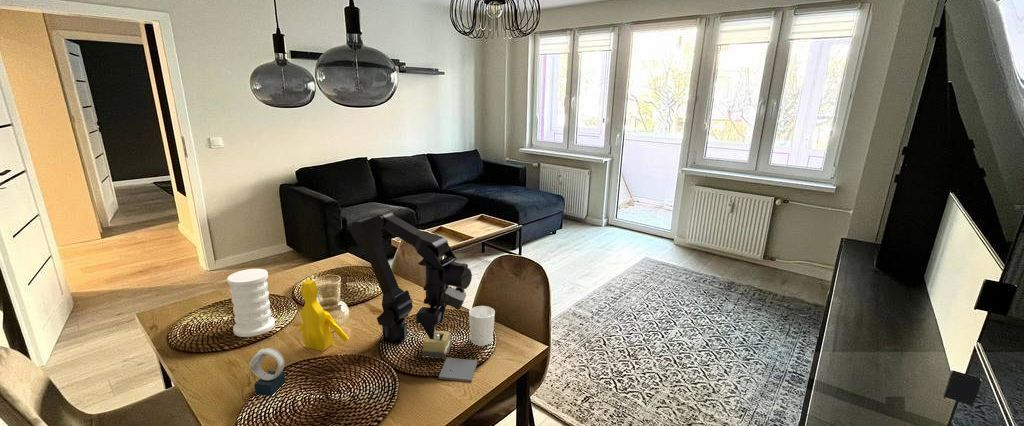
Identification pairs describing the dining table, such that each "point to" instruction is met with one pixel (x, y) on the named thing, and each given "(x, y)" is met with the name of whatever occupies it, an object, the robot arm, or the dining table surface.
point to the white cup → (481, 325)
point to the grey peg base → (437, 354)
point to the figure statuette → (317, 320)
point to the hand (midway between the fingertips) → (436, 330)
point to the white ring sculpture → (270, 379)
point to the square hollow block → (437, 342)
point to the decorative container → (250, 302)
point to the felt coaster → (458, 369)
